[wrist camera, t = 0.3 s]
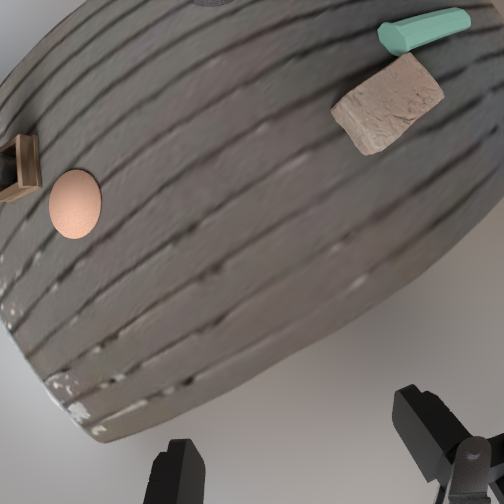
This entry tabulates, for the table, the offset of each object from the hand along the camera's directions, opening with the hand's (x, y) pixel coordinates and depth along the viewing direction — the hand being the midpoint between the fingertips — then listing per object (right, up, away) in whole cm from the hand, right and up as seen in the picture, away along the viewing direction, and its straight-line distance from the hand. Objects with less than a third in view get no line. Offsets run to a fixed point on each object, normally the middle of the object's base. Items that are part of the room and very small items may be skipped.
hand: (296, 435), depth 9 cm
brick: (+17, +28, +24) cm, 41 cm away
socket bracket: (-40, +20, +25) cm, 51 cm away
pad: (-27, +14, +26) cm, 40 cm away
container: (+29, +45, +21) cm, 58 cm away
